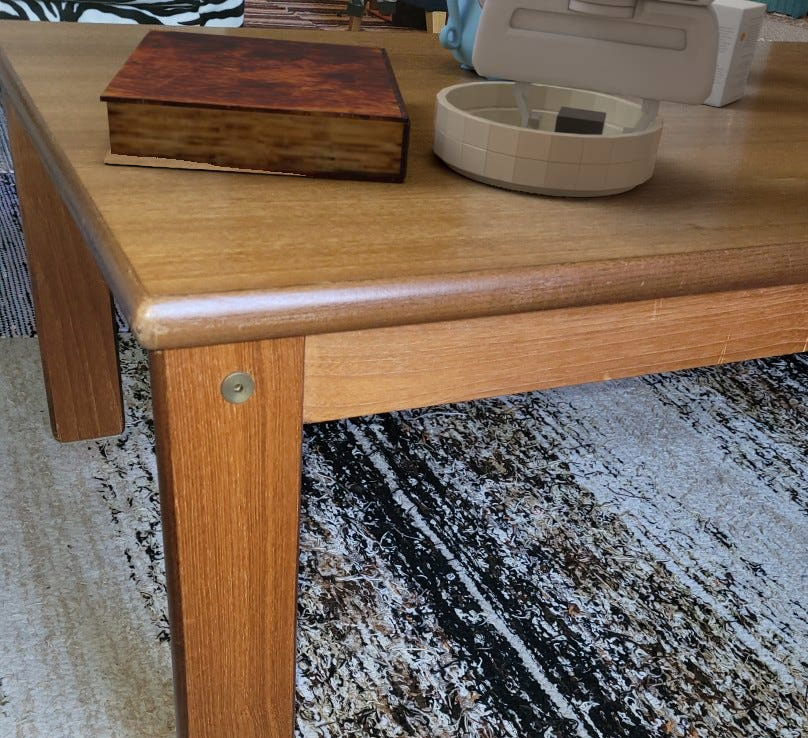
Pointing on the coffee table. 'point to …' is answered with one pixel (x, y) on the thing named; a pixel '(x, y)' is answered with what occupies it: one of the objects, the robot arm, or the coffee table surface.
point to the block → (580, 121)
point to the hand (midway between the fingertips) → (577, 144)
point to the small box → (735, 48)
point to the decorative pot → (462, 31)
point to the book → (261, 106)
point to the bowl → (542, 140)
